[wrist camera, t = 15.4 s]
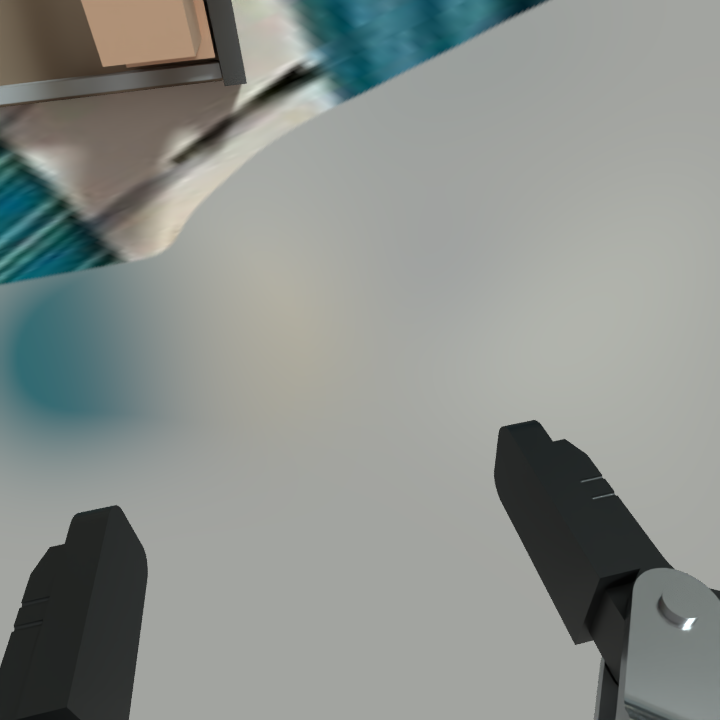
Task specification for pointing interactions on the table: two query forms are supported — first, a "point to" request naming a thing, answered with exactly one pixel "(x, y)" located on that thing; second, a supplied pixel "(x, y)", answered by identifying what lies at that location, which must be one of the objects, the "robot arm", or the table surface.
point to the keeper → (149, 31)
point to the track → (95, 55)
